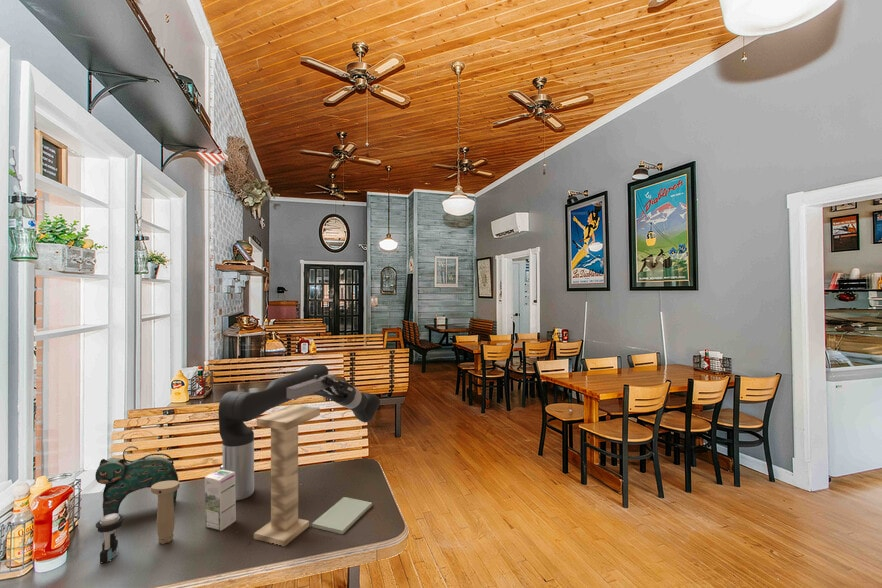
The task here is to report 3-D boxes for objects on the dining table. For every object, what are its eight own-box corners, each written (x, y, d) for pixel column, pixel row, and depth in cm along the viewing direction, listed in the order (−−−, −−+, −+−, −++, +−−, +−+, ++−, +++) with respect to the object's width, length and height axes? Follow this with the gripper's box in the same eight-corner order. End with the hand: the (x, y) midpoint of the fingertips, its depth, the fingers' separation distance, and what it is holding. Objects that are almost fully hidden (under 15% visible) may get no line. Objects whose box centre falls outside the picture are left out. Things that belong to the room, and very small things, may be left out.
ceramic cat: (95, 525, 118) (94, 455, 118) (98, 515, 123) (98, 447, 123) (178, 506, 129) (178, 441, 128) (178, 497, 134) (177, 434, 134)
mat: (312, 526, 118) (311, 523, 118) (344, 499, 133) (344, 496, 133) (342, 534, 114) (342, 530, 114) (371, 505, 129) (371, 502, 129)
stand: (254, 538, 112) (253, 419, 112) (292, 510, 126) (292, 404, 126) (284, 546, 109) (284, 423, 108) (319, 517, 123) (319, 408, 122)
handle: (173, 546, 109) (172, 488, 108) (147, 547, 108) (146, 489, 108) (183, 535, 114) (183, 480, 113) (158, 535, 113) (158, 480, 113)
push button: (104, 549, 107) (104, 510, 107) (129, 545, 109) (129, 507, 109) (92, 565, 101) (91, 524, 101) (118, 561, 103) (117, 521, 102)
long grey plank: (286, 398, 118) (286, 387, 118) (327, 383, 136) (327, 374, 136) (295, 399, 117) (295, 388, 117) (334, 384, 135) (334, 375, 135)
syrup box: (236, 520, 121) (236, 470, 120) (219, 532, 115) (219, 479, 115) (221, 517, 123) (221, 467, 122) (204, 528, 117) (203, 476, 117)
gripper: (332, 382, 148) (304, 365, 134) (367, 386, 143) (342, 368, 129) (325, 403, 145) (296, 388, 131) (361, 408, 140) (335, 392, 126)
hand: (319, 378), depth 130 cm, fingers closed on long grey plank, 3 cm apart
